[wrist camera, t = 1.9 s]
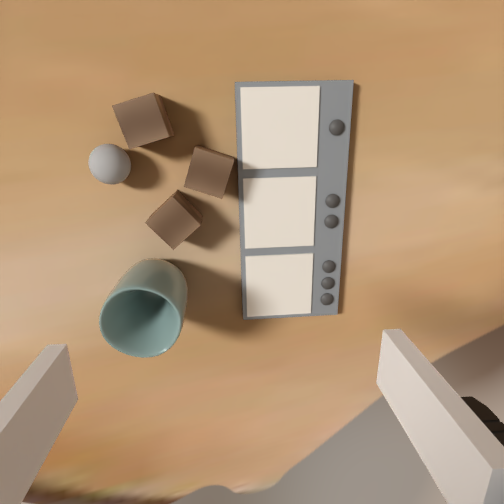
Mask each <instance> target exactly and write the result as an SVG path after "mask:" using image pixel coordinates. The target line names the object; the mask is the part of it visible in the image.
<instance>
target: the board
mask: <svg viewBox="0 0 504 504" xmlns="http://www.w3.org/2000/svg"><path fill="white" fill-rule="evenodd" d="M353 82H354V80H327V81H265V82H235V103H236V132H237V161H238V190H239V219H240V248H241V277H242V306H243V320H249V319H266V318H284V317H302V316H320V315H337V314H338V299H339V285H340V270H341V256H342V241H343V227H344V212H345V198H346V183H347V169H348V154H349V140H350V125H351V111H352V96H353Z"/></svg>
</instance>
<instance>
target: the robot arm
mask: <svg viewBox="0 0 504 504" xmlns="http://www.w3.org/2000/svg"><path fill="white" fill-rule="evenodd" d="M376 383H377V385H378V387H379V388H380V390H381V392H382V393H383V395H384V396H385V398H386V400H387V402H388V403H389V405H390V407H391V408H392V410H393V412H394V414H395V415H396V417H397V418H398V420H399V422H400V423H401V425H402V427H403V429H404V430H405V432H406V434H407V435H408V437H409V439H410V440H411V442H412V444H413V445H414V447H415V449H416V450H417V452H418V454H419V456H420V457H421V459H422V460H423V462H424V464H425V466H426V467H427V469H428V471H429V472H430V474H431V476H432V477H433V479H434V481H435V482H436V484H437V486H438V488H439V489H440V491H441V492H442V494H443V496H444V498H445V499H446V501H447V503H448V504H504V424H503V423H502V422H500V421H499V419H498V418H497V416H496V415H495V414H494V413H493V412H492V411H491V410H490V409H489V408H488V407H487V406H485V405H484V404H482V403H481V402H479V401H478V400H476V399H475V398H473V397H460V396H459V395H458V394H457V393H456V392H455V390H454V389H453V388H452V387H451V386H450V385H449V384H448V382H447V381H446V380H445V379H444V378H443V377H442V376H441V375H440V373H439V372H438V371H437V370H436V369H435V368H434V367H433V365H432V364H431V363H430V362H429V361H428V360H427V358H426V357H425V356H424V355H423V354H422V353H421V352H420V351H419V349H418V348H417V347H416V346H415V345H414V344H413V343H412V341H411V340H410V339H409V338H408V337H407V336H406V335H405V333H404V332H403V331H402V330H401V329H386V330H383V334H382V342H381V350H380V358H379V366H378V374H377V382H376ZM77 400H78V396H77V391H76V386H75V382H74V377H73V372H72V367H71V362H70V357H69V352H68V348H67V344H53V345H47V346H46V347H45V348H44V349H43V350H42V352H41V353H40V354H39V355H38V356H37V358H36V359H35V360H34V361H33V362H32V364H31V365H30V366H29V367H28V368H27V370H26V371H25V372H24V373H23V374H22V376H21V377H20V378H19V379H18V380H17V382H16V383H15V384H14V385H13V386H12V388H11V389H10V390H9V391H8V393H7V394H6V395H5V396H4V397H3V399H2V400H1V401H0V504H21V502H22V501H23V499H24V497H25V495H26V493H27V492H28V490H29V488H30V486H31V484H32V482H33V481H34V479H35V477H36V475H37V473H38V471H39V470H40V468H41V466H42V464H43V462H44V461H45V459H46V457H47V455H48V453H49V451H50V450H51V448H52V446H53V444H54V442H55V440H56V439H57V437H58V435H59V433H60V431H61V430H62V428H63V426H64V424H65V422H66V420H67V419H68V417H69V415H70V413H71V411H72V409H73V408H74V406H75V404H76V402H77Z"/></svg>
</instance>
